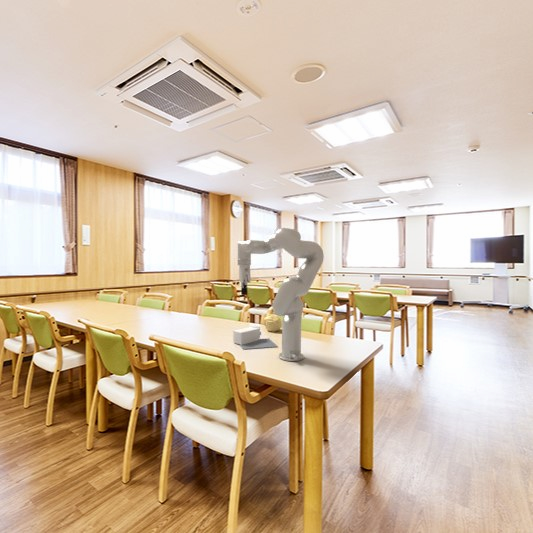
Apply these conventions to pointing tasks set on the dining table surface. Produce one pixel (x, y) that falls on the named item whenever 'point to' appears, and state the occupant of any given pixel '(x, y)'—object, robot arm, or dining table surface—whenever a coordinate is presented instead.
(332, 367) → the dining table surface
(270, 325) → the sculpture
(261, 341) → the back mat
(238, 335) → the milk carton
